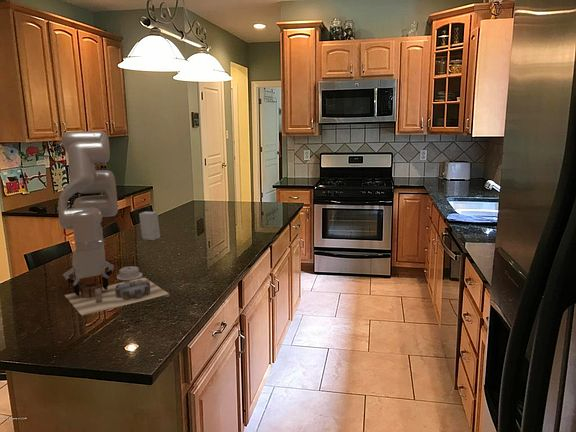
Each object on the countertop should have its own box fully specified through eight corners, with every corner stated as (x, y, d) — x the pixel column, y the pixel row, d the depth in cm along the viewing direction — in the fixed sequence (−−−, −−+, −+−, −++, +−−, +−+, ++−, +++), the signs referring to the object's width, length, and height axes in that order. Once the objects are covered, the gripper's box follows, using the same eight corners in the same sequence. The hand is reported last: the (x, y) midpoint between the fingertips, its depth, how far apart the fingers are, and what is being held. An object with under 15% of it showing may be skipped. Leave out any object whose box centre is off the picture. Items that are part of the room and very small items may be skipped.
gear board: (64, 297, 169) (62, 283, 168) (145, 279, 187) (143, 266, 185) (82, 318, 150) (80, 302, 149) (169, 296, 168) (168, 282, 167)
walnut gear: (79, 294, 169) (78, 284, 169) (99, 289, 173) (98, 280, 173) (84, 299, 164) (83, 290, 163) (104, 294, 168) (103, 285, 167)
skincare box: (160, 238, 255) (158, 211, 252) (153, 240, 249) (151, 213, 247) (148, 236, 258) (146, 210, 255) (140, 239, 253) (138, 212, 250)
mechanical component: (147, 278, 189) (133, 273, 196) (146, 267, 189) (132, 263, 195) (125, 284, 182) (112, 279, 188) (124, 274, 181) (111, 269, 187)
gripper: (108, 240, 173) (112, 283, 176) (57, 248, 163) (63, 294, 166) (114, 243, 167) (119, 289, 170) (62, 252, 157) (68, 300, 160)
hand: (91, 291), depth 168 cm, fingers open, 9 cm apart
